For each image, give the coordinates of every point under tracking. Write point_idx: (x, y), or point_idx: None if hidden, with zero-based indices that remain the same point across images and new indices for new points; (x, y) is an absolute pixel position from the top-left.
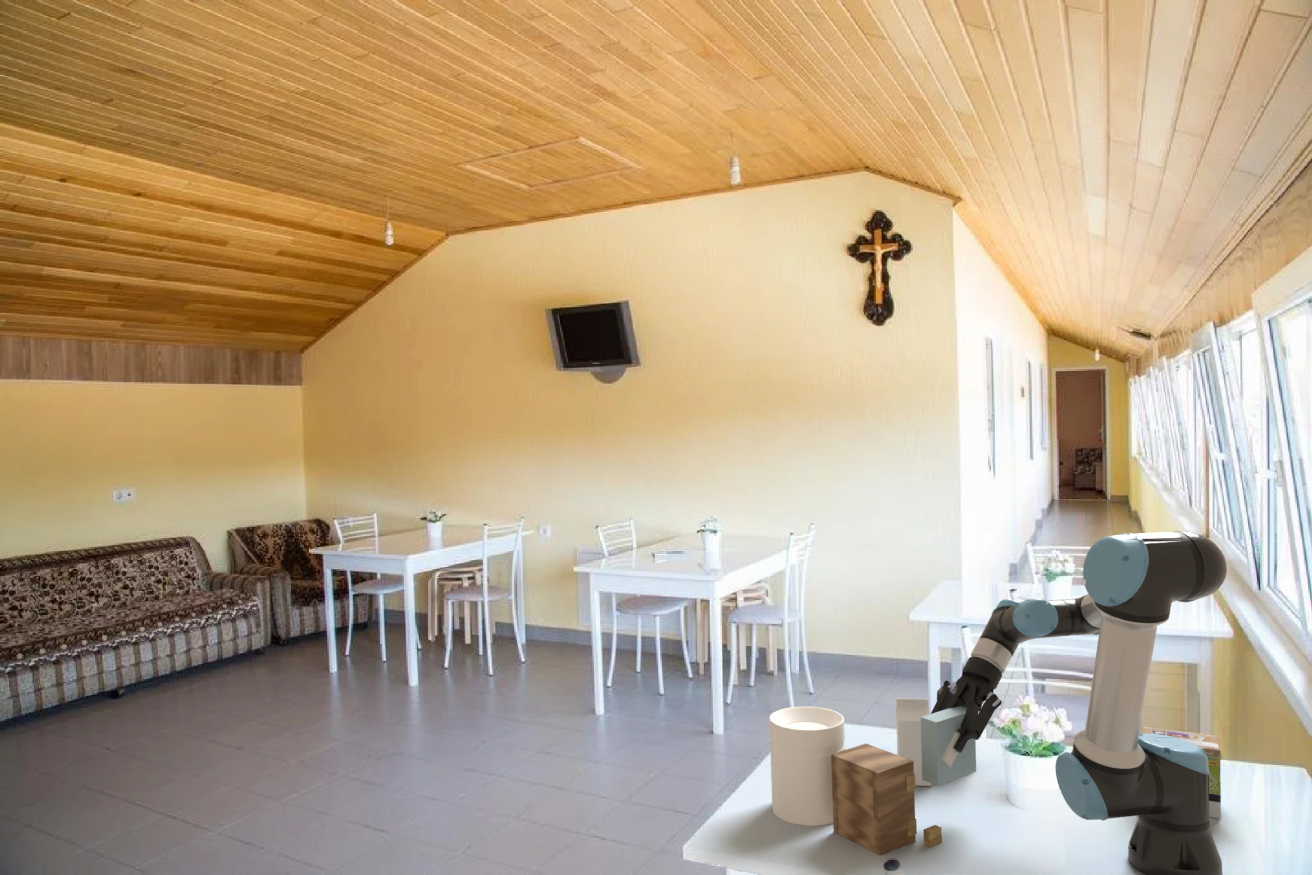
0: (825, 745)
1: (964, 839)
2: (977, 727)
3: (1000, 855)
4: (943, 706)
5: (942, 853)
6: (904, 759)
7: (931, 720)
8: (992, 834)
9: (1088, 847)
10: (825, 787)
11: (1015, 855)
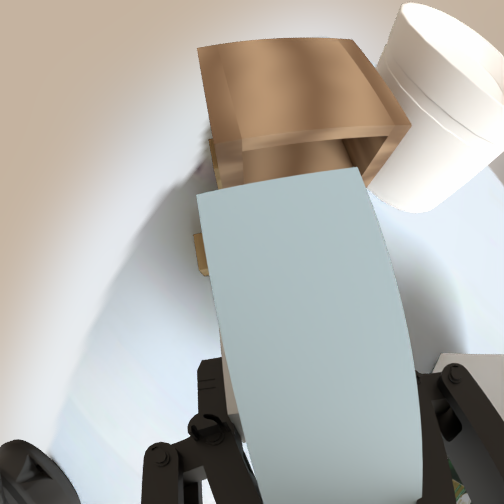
0: (393, 48)
1: (194, 323)
2: (147, 491)
3: (120, 334)
4: (475, 469)
5: (170, 249)
6: (241, 128)
7: (255, 188)
8: (188, 385)
9: (96, 464)
10: None
11: (110, 355)
